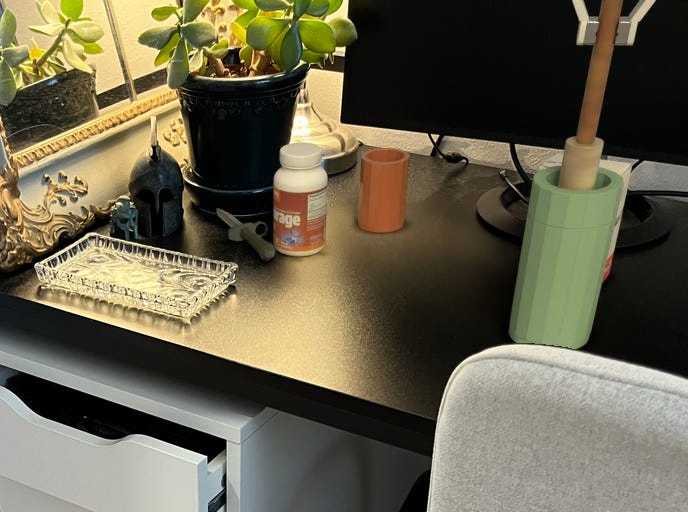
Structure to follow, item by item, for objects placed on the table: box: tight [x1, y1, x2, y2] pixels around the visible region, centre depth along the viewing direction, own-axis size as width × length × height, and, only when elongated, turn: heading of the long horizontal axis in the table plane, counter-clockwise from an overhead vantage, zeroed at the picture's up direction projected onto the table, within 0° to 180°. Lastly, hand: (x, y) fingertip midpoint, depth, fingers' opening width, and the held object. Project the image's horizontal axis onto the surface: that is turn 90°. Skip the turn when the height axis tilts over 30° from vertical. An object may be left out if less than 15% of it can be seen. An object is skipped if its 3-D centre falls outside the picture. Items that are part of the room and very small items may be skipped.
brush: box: [558, 0, 624, 191], centre depth 86 cm, size 3×3×21 cm
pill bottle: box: [273, 141, 329, 257], centre depth 116 cm, size 6×6×11 cm
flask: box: [508, 165, 624, 350], centre depth 96 cm, size 8×8×15 cm
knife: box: [216, 207, 277, 262], centre depth 123 cm, size 19×2×5 cm
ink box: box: [537, 153, 633, 284], centre depth 107 cm, size 9×5×12 cm, turn 56°
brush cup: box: [357, 147, 411, 234], centre depth 121 cm, size 6×6×8 cm
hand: (604, 43), depth 83 cm, fingers closed on brush
